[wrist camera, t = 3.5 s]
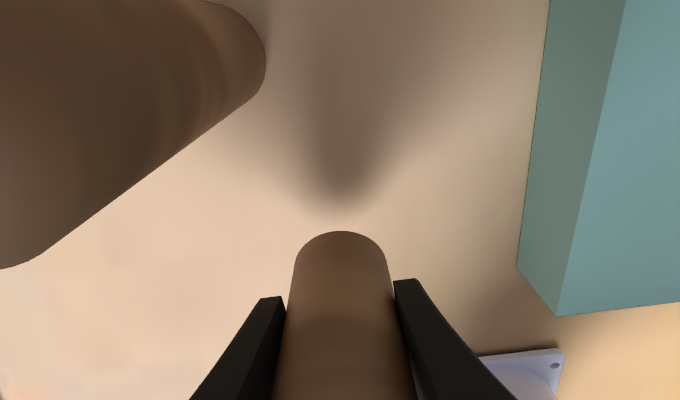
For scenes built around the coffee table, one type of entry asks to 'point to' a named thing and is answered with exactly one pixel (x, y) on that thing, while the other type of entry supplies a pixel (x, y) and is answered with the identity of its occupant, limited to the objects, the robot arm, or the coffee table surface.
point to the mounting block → (605, 159)
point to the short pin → (342, 326)
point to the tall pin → (106, 102)
